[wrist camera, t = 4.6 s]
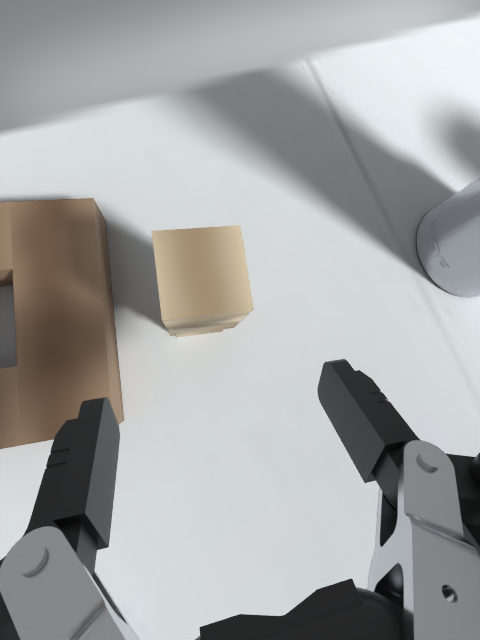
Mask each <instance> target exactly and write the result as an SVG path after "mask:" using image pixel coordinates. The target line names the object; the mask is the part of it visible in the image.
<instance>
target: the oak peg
mask: <svg viewBox="0 0 480 640" xmlns="http://www.w3.org/2000/svg"><path fill="white" fill-rule="evenodd" d="M152 239H153V248H154V256H155V265H156V274H157V282H158V291H159V300H160V308H161V317H162V321H163V323H164V325H165V327H166V329H167V330H168V332H169V334H170V336H173V335H177V337H183V336H191V335H198V334H206V333H213V332H221V331H223V329H227V328H234V327H235V326H236V325H237V324H238V323H239V322H240V321H241V320H243V319H244V318H245V317H246V316H247V315H248V314H249V313H250V312H251V311H252V310H253V302H252V296H251V290H250V284H249V277H248V271H247V265H246V258H245V252H244V246H243V240H242V233H241V227H240V225H239V226H223V227H208V228H192V229H176V230H161V231H152Z"/></svg>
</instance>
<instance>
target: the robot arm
mask: <svg viewBox="0 0 480 640" xmlns="http://www.w3.org/2000/svg"><path fill="white" fill-rule="evenodd" d="M417 249H418V255H419V257H420V260H421V263H422V265H423V267H424V269H425V270H426V272H427V274H428V275H429V276H430V277H431V279H432V280H433V281H434V282H435V283H436V284H437V285H439V286H440V287H441V288H442V289H444V290H446V291H447V292H449V293H451V294H454V295H457V296H461V297H475V296H480V178H479V179H477V180H476V181H474V182H473V183H471V184H470V185H468V186H467V187H465V188H464V189H462V190H461V191H459V192H458V193H456V194H455V195H453V196H452V197H450V198H449V199H447V200H446V201H444V202H443V203H441V204H440V205H438V206H436V207H435V208H433V209H432V210H430V211H429V212H428V213H427V214H426V215H425V216H424V218H423V219H422V221H421V223H420V225H419V229H418V232H417ZM318 397H319V400H320V403H321V405H322V406H323V408H324V410H325V412H326V414H327V416H328V417H329V419H330V421H331V423H332V425H333V426H334V428H335V430H336V432H337V434H338V435H339V437H340V439H341V441H342V443H343V444H344V446H345V448H346V450H347V452H348V453H349V455H350V457H351V459H352V461H353V463H354V464H355V466H356V468H357V470H358V472H359V473H360V475H361V477H362V479H363V481H364V482H365V483H367V482H371V481H375V480H376V481H377V483H378V485H379V486H380V489H379V493H378V507H377V523H376V538H375V549H374V554H373V558H372V561H371V564H370V569H369V576H368V587H367V590H366V589H362V588H356V587H355V585H354V582H353V580H352V579H349V580H346V581H342V582H339V583H336V584H333V585H330V586H327V587H324V588H321V589H317V590H316V591H315V592H314V593H312V594H311V595H310V596H309V597H307V598H306V599H305V600H304V601H302V602H301V603H300V604H299V605H297V606H296V607H295V608H293V609H292V610H291V611H290V612H288V613H287V614H286V615H283V616H264V615H243V614H240V615H236V616H233V617H230V618H227V619H224V620H221V621H218V622H215V623H211V624H208V625H205V626H202V627H200V636H199V637H198V638H197V639H195V640H480V453H479V454H478V455H477V456H476V457H469V456H460V455H452V454H445V453H444V452H443V451H442V450H441V449H439V448H438V447H436V446H435V445H433V444H431V443H429V442H426V441H421V440H420V439H419V438H418V437H417V436H416V435H415V433H414V432H413V431H412V430H411V428H410V427H409V426H408V424H407V423H406V422H405V421H404V419H403V418H402V417H401V416H400V414H399V413H398V412H397V410H396V409H395V408H394V407H393V405H392V404H391V403H390V402H388V399H387V398H386V396H385V395H384V394H383V393H382V392H381V391H380V389H379V388H378V386H377V385H376V384H375V382H374V381H373V380H372V379H371V378H370V377H368V376H367V375H365V374H364V373H363V372H361V371H360V370H358V371H354V369H353V368H352V367H351V365H350V364H349V363H348V361H346V360H345V359H341V360H335V361H329V362H325V363H324V365H323V369H322V373H321V377H320V381H319V385H318ZM119 441H120V433H119V425H118V422H117V419H116V417H115V414H114V411H113V409H112V406H111V403H110V401H109V399H108V397H104V398H97V399H91V400H85V401H83V402H82V403H81V406H80V410H79V414H78V418H76V419H70V420H66V422H65V423H64V424H63V426H62V427H61V428H60V430H59V431H58V433H57V434H56V435H55V438H54V442H53V445H52V448H51V455H49V458H48V462H47V465H46V466H47V468H46V469H45V472H44V475H43V479H42V482H41V485H40V489H39V492H38V495H37V499H36V502H35V506H34V509H33V512H32V516H31V519H30V522H29V525H28V528H27V530H26V532H25V534H24V535H23V537H22V538H21V539H20V540H19V541H18V542H17V543H16V544H15V545H14V546H13V547H12V548H11V550H10V551H9V552H8V554H7V555H6V556H5V557H4V558H3V559H2V560H0V640H140V638H139V637H138V635H137V634H136V633H135V631H134V630H133V629H132V627H131V626H130V624H129V623H128V621H127V620H126V618H125V617H124V615H123V613H122V612H121V610H120V609H119V607H118V606H117V604H116V603H115V601H114V599H113V598H112V596H111V595H110V593H109V592H108V590H107V588H106V587H105V585H104V584H103V582H102V581H101V579H100V577H99V576H98V574H97V573H96V571H95V570H94V568H95V560H96V553H97V550H99V549H103V548H107V547H109V538H110V529H111V519H112V509H113V499H114V490H115V480H116V470H117V461H118V451H119Z"/></svg>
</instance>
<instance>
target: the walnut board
mask: <svg viewBox="0 0 480 640" xmlns="http://www.w3.org/2000/svg"><path fill="white" fill-rule="evenodd" d="M7 285H13V288H14V310H15V332H16V354H17V366H14V367H7V368H0V449H3V448H8V447H14V446H19V445H25V444H30V443H36V442H41V441H47V440H52V439H54V438H55V435H56V434H57V433H58V431H59V430H60V428H61V427H62V426H63V424H64V423H65V422H66V420H70V419H76V418H78V414H79V410H80V406H81V403H82V402H83V401H85V400H91V399H97V398H104V397H108V399H109V401H110V403H111V406H112V409H113V411H114V414H115V417H116V419H117V422H118V424H120V423H121V422H122V421H124V416H123V405H122V394H121V383H120V372H119V362H118V351H117V340H116V329H115V319H114V308H113V297H112V286H111V276H110V265H109V254H108V243H107V232H106V222H105V219H104V217H103V215H102V213H101V211H100V210H99V208H98V206H97V204H96V202H95V201H94V199H93V198H86V199H63V200H39V201H15V202H0V286H7Z"/></svg>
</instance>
